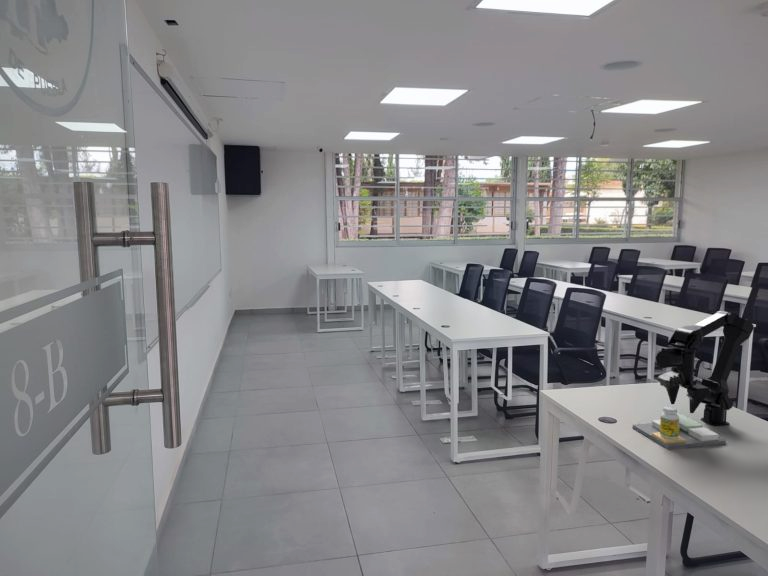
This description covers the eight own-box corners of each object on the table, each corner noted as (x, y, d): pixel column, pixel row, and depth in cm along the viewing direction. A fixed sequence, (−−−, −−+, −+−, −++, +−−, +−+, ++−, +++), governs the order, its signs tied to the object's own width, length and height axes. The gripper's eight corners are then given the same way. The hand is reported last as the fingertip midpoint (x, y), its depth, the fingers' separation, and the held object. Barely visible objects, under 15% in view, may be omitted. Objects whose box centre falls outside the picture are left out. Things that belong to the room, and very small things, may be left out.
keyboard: (685, 423, 188) (686, 415, 188) (725, 443, 171) (726, 435, 170) (632, 427, 185) (632, 419, 185) (667, 449, 167) (668, 440, 167)
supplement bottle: (679, 435, 173) (681, 407, 172) (676, 440, 169) (678, 412, 168) (661, 431, 176) (663, 404, 175) (658, 436, 172) (659, 408, 171)
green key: (676, 420, 190) (677, 412, 189) (701, 433, 178) (702, 425, 178) (661, 421, 189) (662, 413, 189) (686, 434, 177) (686, 426, 177)
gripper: (645, 359, 189) (643, 401, 190) (683, 373, 170) (680, 419, 172) (673, 357, 190) (671, 399, 192) (713, 371, 172) (710, 417, 174)
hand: (681, 408), depth 183 cm, fingers open, 9 cm apart
